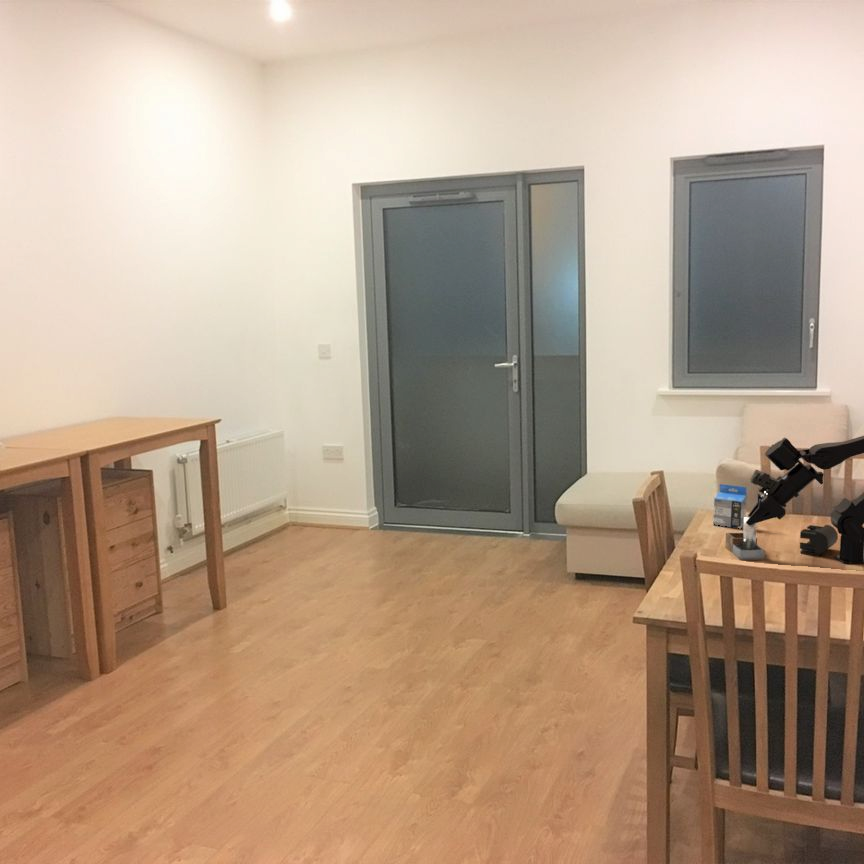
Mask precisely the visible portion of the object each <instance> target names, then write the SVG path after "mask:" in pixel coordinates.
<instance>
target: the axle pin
mask: <svg viewBox="0 0 864 864" xmlns="http://www.w3.org/2000/svg"><path fill="white" fill-rule="evenodd" d="M749 518H750V516H748V515H746V516H744V523H743V528H742V529H743V532H742V533H743V547H744V548H749V549H753V548H756V538H757V523H755V524H752V525H748V524H747V523H746V521H747V520H748V519H749Z"/></svg>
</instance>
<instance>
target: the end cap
mask: <svg viewBox="0 0 864 864" xmlns="http://www.w3.org/2000/svg"><path fill="white" fill-rule="evenodd" d="M799 537H800V539H806V540H809V541H807V542H799V549H800V551H799V552H800V553H799V554H801V555H807V556H808V555H809V556H815V557H817V556H820V555H822V554H823V553H825V552H826V551H827V550H829V549H830V548H831V547H832V546H834V545H835V544H836V543H837V541H838V538H839V535H838V530H836V528H835V527H834V526H833V525H830V524H825V525H824V526H819V525H811V524H809V526H807V528H803V529H802V530H801V531H800V535H799Z"/></svg>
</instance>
